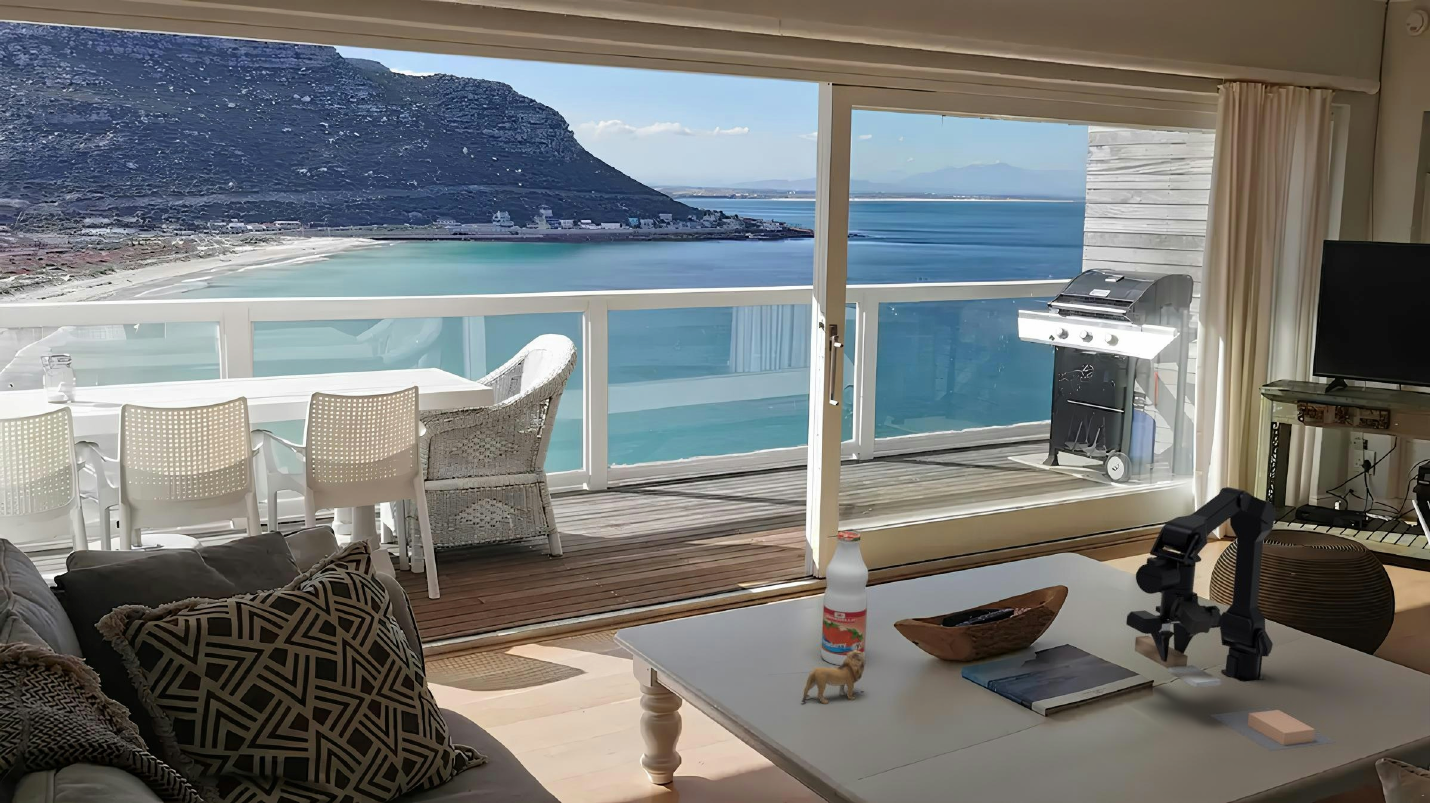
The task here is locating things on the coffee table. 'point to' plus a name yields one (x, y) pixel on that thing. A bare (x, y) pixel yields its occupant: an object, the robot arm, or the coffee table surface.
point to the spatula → (1175, 663)
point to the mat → (1240, 725)
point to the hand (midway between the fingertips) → (1170, 660)
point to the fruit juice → (845, 601)
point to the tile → (1281, 727)
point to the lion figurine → (837, 676)
